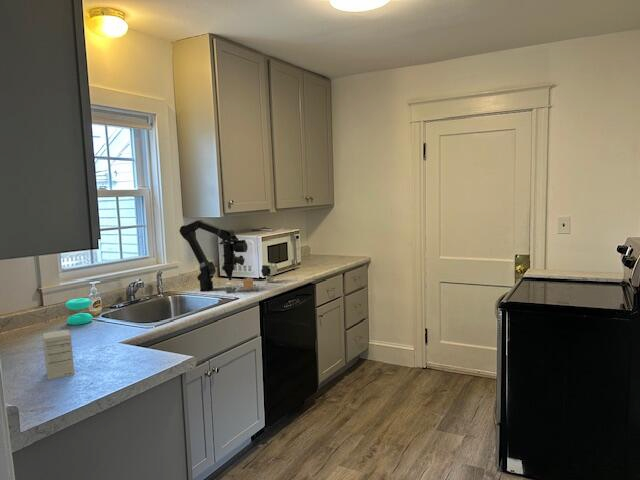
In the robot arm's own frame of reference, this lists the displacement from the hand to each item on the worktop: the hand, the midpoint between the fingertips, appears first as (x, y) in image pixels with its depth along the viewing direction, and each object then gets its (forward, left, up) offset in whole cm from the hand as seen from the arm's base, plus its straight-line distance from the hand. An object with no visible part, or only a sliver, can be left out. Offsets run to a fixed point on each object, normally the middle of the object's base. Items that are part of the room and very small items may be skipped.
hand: (230, 280), depth 264 cm
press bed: (+10, -3, -6) cm, 12 cm away
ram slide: (0, -4, -5) cm, 6 cm away
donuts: (-60, -53, -6) cm, 80 cm away
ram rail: (0, 0, -6) cm, 6 cm away
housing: (+10, -2, -5) cm, 11 cm away
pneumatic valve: (+22, +18, -6) cm, 29 cm away
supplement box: (-41, -117, -6) cm, 124 cm away
